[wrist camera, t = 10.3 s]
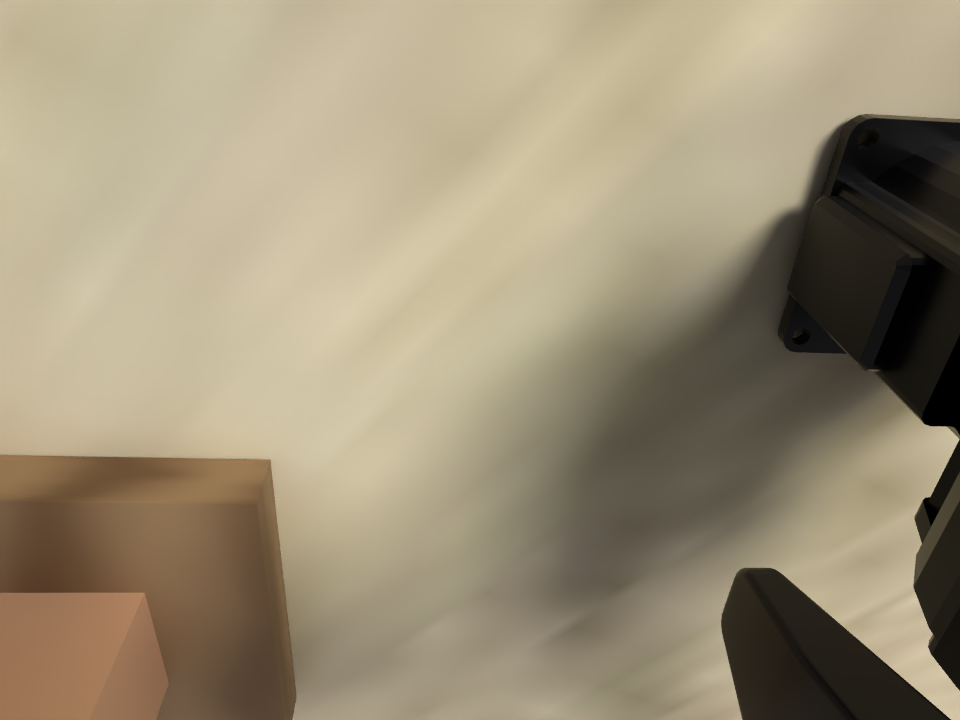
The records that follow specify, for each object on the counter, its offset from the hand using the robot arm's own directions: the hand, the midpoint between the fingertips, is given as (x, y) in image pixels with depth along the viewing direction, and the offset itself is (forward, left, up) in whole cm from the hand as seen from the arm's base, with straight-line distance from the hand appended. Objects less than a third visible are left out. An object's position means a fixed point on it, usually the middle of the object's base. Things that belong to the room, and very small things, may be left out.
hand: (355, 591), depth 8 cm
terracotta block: (+10, +14, -10) cm, 20 cm away
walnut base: (+10, +14, -12) cm, 21 cm away
